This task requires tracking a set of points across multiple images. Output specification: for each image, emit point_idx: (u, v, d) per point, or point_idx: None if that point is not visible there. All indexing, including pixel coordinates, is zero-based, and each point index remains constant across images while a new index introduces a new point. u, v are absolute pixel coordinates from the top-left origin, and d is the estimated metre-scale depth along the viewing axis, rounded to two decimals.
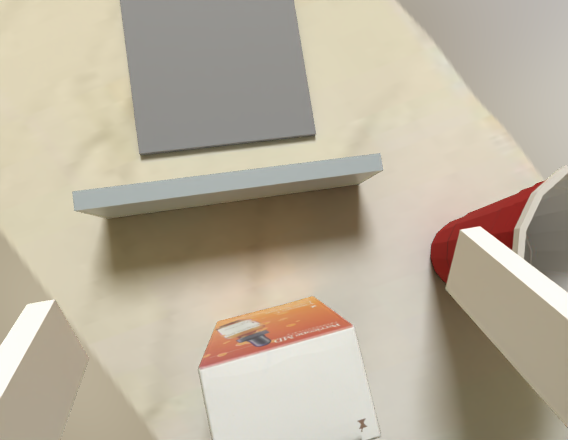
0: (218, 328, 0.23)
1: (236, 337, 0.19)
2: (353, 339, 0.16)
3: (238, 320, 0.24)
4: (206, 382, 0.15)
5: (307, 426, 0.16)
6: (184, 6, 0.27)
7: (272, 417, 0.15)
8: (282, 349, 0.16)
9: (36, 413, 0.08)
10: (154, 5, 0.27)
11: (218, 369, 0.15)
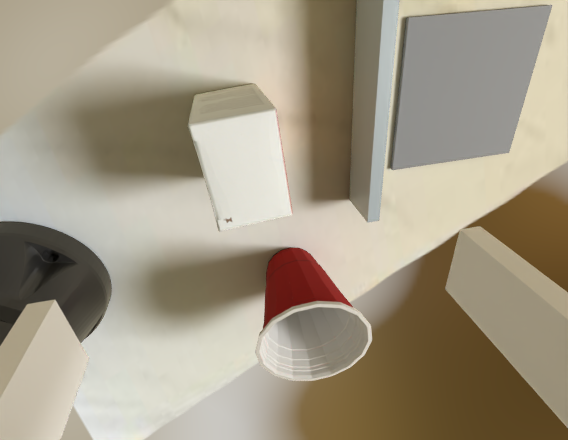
0: None
1: None
2: (284, 214, 0.24)
3: None
4: (266, 115, 0.20)
5: (230, 186, 0.22)
6: (514, 66, 0.33)
7: (238, 162, 0.22)
8: (283, 168, 0.22)
9: (36, 413, 0.08)
10: (523, 39, 0.31)
11: (274, 124, 0.21)
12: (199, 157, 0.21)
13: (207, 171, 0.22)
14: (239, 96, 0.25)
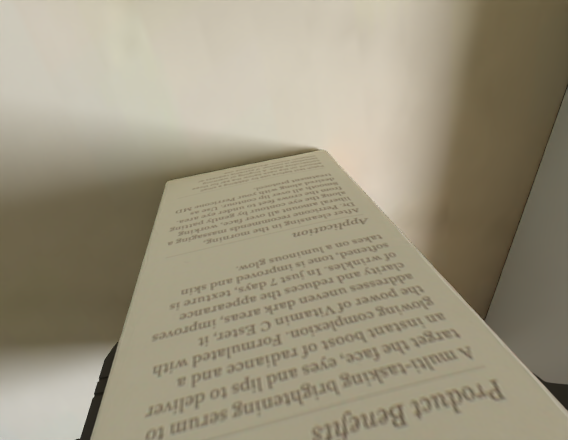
0: None
1: None
2: None
3: None
4: None
5: None
6: None
7: None
8: None
9: None
10: None
11: None
12: None
13: None
14: (312, 239, 0.07)
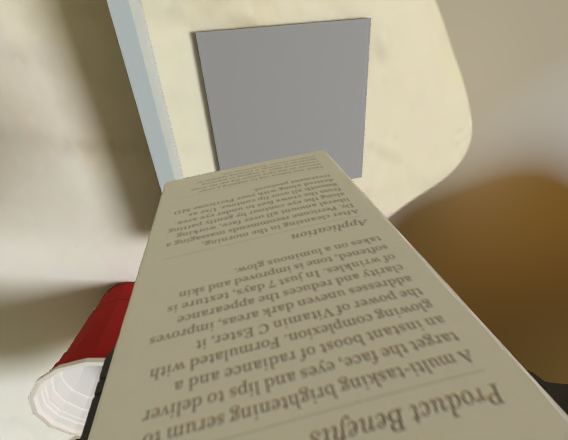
0: None
1: None
2: None
3: None
4: None
5: None
6: (342, 85, 0.29)
7: None
8: None
9: None
10: (346, 55, 0.28)
11: None
12: None
13: None
14: (310, 240, 0.07)
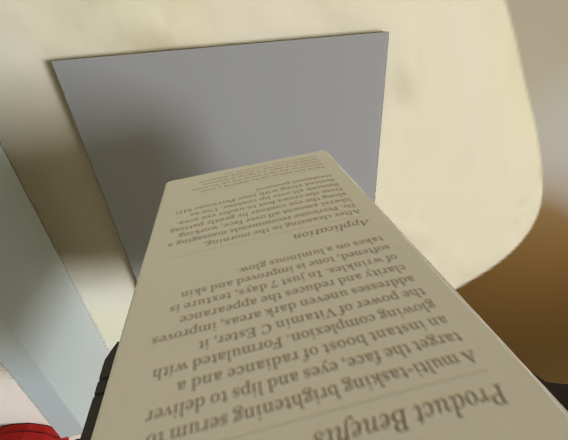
0: None
1: None
2: None
3: None
4: None
5: None
6: (337, 145, 0.17)
7: None
8: None
9: None
10: (343, 97, 0.16)
11: None
12: None
13: None
14: (312, 240, 0.07)
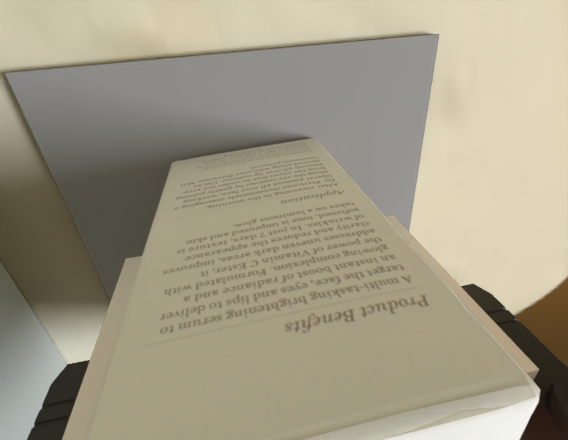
0: None
1: None
2: None
3: None
4: (490, 422, 0.04)
5: None
6: (368, 173, 0.14)
7: None
8: None
9: None
10: (378, 115, 0.13)
11: None
12: None
13: None
14: (296, 205, 0.08)
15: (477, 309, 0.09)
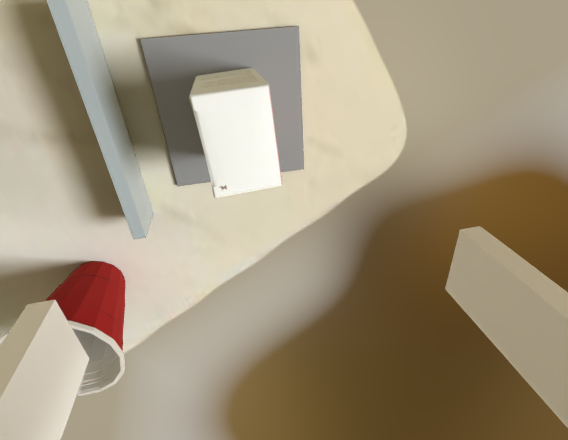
0: None
1: None
2: (274, 184, 0.27)
3: None
4: (260, 90, 0.23)
5: (225, 154, 0.25)
6: (278, 85, 0.33)
7: (233, 132, 0.24)
8: (274, 141, 0.25)
9: (36, 413, 0.08)
10: (278, 59, 0.32)
11: (267, 98, 0.23)
12: (198, 126, 0.23)
13: (205, 140, 0.24)
14: (237, 76, 0.27)
15: None
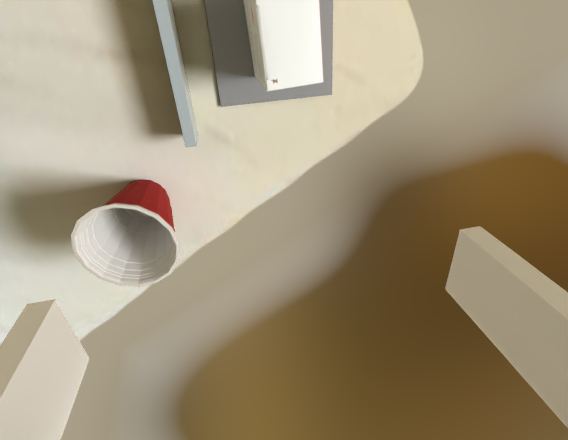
0: None
1: None
2: (317, 80, 0.31)
3: None
4: None
5: (279, 48, 0.29)
6: None
7: (287, 27, 0.28)
8: (319, 37, 0.29)
9: (36, 413, 0.08)
10: None
11: None
12: (258, 20, 0.28)
13: (263, 33, 0.28)
14: None
15: None
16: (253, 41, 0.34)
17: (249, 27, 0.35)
